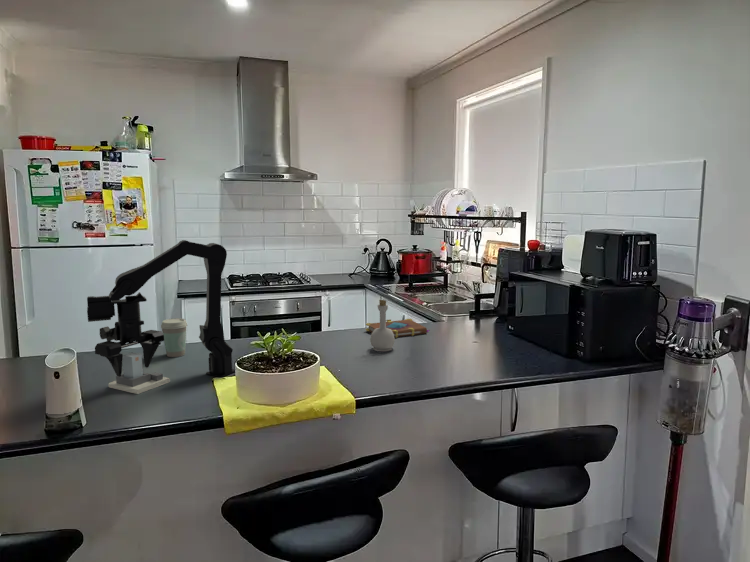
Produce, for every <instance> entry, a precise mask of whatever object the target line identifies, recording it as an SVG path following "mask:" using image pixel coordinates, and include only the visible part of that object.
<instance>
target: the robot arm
mask: <svg viewBox="0 0 750 562" xmlns="http://www.w3.org/2000/svg"><path fill="white" fill-rule="evenodd" d="M188 255H189V256H194V257H198V258H203V262H204V268H205V270H206V312H205V314H206V315H205V322H204V324H203V325H202V324H200V325H199V332H200V333H199V336H198V338H199V340H200V341H201V343H202V345H203V346H204V347H205V349H206V350H208V351H209V353H208V370H209V371H206V373H205V375H208V376H214V377H218V378H223V377H225V376H228V375H230V374H233V373H236V372H235V370H236V369H233V357H232V354H233V350H234V349H233V348H232V347H231V346H230V345H229V344H228V342H227V341H226V339H225V334H224V330H223V324H222V321H221V318H222V317H221V311H222V310H221V307H222V306H221V305H222V276H223V271H224V268H225V266H226V261H227V255H228V254H227V249H226V248H225V247H224V246H223V245H221V244H219V243H215V242H210V243H207V244H203V243H198V242H192V241H188V240H187V239H181V240H180V241H179V242H177V244H175V245H173V246H172V247H170V248H168V249H167V250H165V251H164V252H162V253H160V254H159V255H157V256H156V257H154V258H153V259H150V260H149V261H148V262H146V263H145V264H142V265H139V266H137V267H135V268H131V269H129V270H126V271H125V272H122V273H120V274H118V275H117V277H116V278H115V280H114V281H115V282H114V284H115V286H114V287H113V288H112V289H111V291H109V292H110V293H109V294H108V295H102V296H92V295H90V296H87V297H86V300H87V304H86V305H87V306H86V307H87V308H86V309H87V310H86V311H87V312H86V314H87V321H88V322H89V323H90V322H102V321H111V319H112V318H113V317H116V311H115V310H116V309H115V305H116V307H117V321H115V323H114V327H112V328H110V327H109V326H107V325H106V326H104V327H101V328H99V337H100V339H101V340H106V341H103V342H98V343H96V345H95V346H94V354H95V355H98V356H99V355H100V356H101V357H102V358H103V357H104V358H106V359H107V361H109V363H110V365H111V367H112V369H113V371H114V373H115V374H116V376H118V377H120V376H121V375H122V374H123V373H122V372H123V360H122V358H123V355H124V354H123V353H121V352H122V349H123V348H127V347H128V348H129V347H131V346H135V345H138V344H140V346H141V348H142V353H143V355H142V357H143V364H144V367H145V368H146V369H147V368H148V369H149V367H150V364H151V362H152V360H153V357H154V356H155V353H156V352H157V350H158V348H159V346H161V345H162V342H164V334H163V332H162V330H155V329H149V330H145V331H142V325H143V326H144V325H145V321H144V320H142V319H141V308H140V307H141V306H140V303H141V302H144V303H145V302H147V301H148V300H147V297H146V296H144V295H143V294H142V293H141V292H138V291H140V289H141V288H142V287H144V286H145V284H146V283H147V282H148V281H149V280H150V279H151V278H152V277H155V275H157V274H159V273H161V272H162V271H164V270H165V269H167V268H169V266H171V265H173V264H174V263H177V262H178V261H179V260H181V259H183V258H184V257H185V256H188ZM136 293H137V294H136ZM124 297H125V298H124ZM122 298H124V299H122ZM113 340H114V341H113ZM117 341H118V342H117Z"/></svg>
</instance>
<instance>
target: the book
mask: <svg viewBox="0 0 750 562" xmlns="http://www.w3.org/2000/svg"><path fill="white" fill-rule="evenodd" d="M365 325H366V326H367V328H365V331H367V332H369V333H371V334H372V332H373V331H374V330H375V329H377V328H380V322H374V323H373V322H366V323H365ZM386 328H388V329H391V330H392V332H393V334H394V339H395V338H396V339H397V338H399V337H400V338H401V337H408V336H412V337H413V336H414V337H415V336H417V335H426V334H427V333H429V332H430V329H428V328H427V327H426V326H424V325H422V324H419V322H416V321H414V320H413V319H412V318H406V319H399V320H398V319H397V320H392V319H386Z"/></svg>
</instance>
